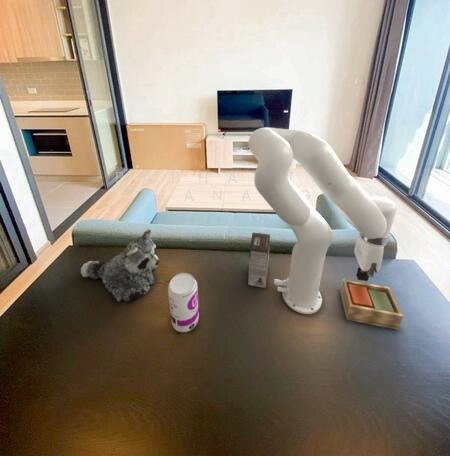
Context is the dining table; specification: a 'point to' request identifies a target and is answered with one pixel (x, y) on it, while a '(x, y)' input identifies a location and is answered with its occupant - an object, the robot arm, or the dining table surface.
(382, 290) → the snack tray
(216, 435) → the dining table surface
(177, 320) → the supplement can
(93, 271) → the raccoon plush
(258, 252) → the coffee box
